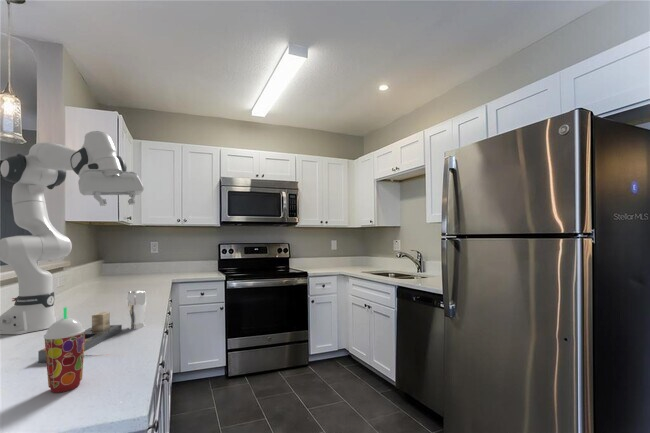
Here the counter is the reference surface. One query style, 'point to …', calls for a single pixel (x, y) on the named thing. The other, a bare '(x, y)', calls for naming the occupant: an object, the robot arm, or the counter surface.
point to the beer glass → (136, 308)
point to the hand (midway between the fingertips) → (118, 204)
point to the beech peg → (101, 321)
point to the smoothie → (64, 354)
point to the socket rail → (89, 339)
